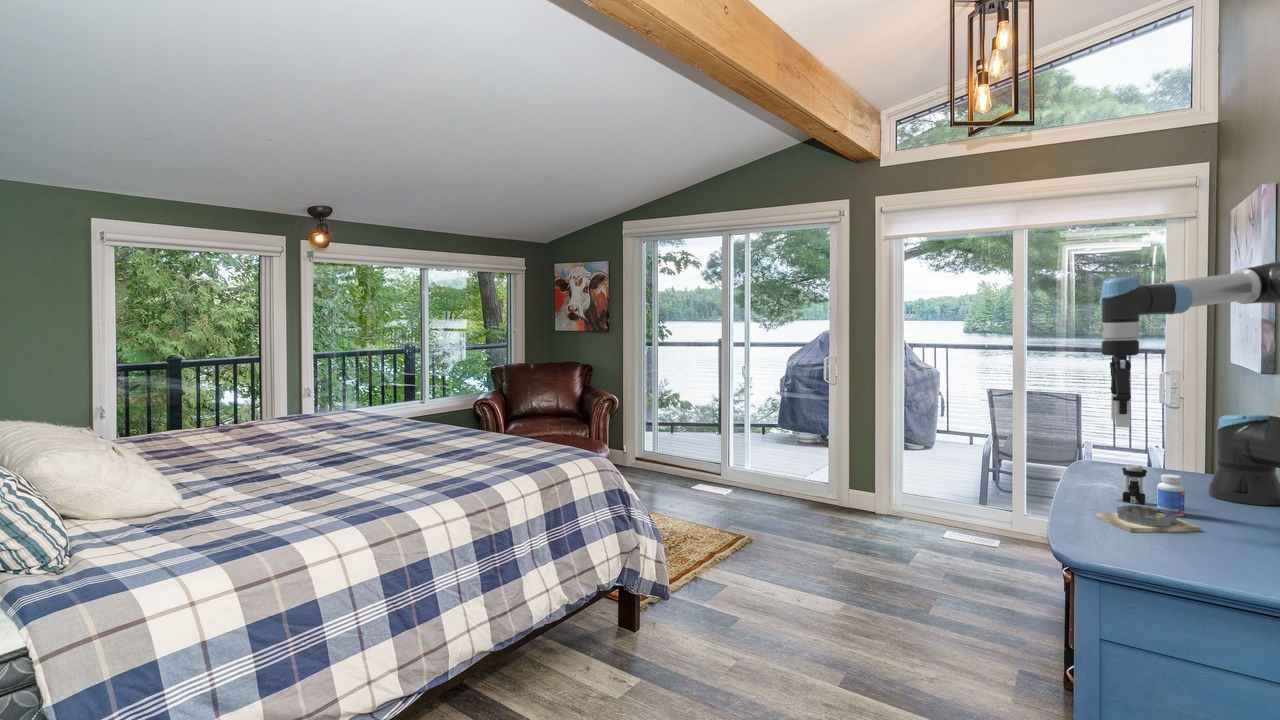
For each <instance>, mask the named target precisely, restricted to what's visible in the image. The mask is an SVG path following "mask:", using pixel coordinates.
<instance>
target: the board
mask: <svg viewBox="0 0 1280 720" xmlns="http://www.w3.org/2000/svg"><path fill="white" fill-rule="evenodd" d="M1096 517H1097V518H1096ZM1095 518H1096V519H1099V520H1101V521H1103V522H1105V521H1106V523H1108V524H1110V525H1112V524H1113V526H1115V527H1118V528H1119V529H1121V530H1124V531H1126V532H1129V533H1168V532H1169V533H1173V532H1174V533H1176V532H1178V533H1179V532H1182V533H1183V532H1201V526H1198V525H1196V524H1193V523H1191V522H1189V521H1188V522H1187V521H1185V520H1182V519H1179V518H1177V519H1176V525H1174V526H1171V527H1152V526H1143V525H1138V524H1133V523H1129V522H1126V521H1123V520H1121V519H1119V518H1118V516H1117V512H1103V513H1101V512H1097V513H1095Z"/></svg>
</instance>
